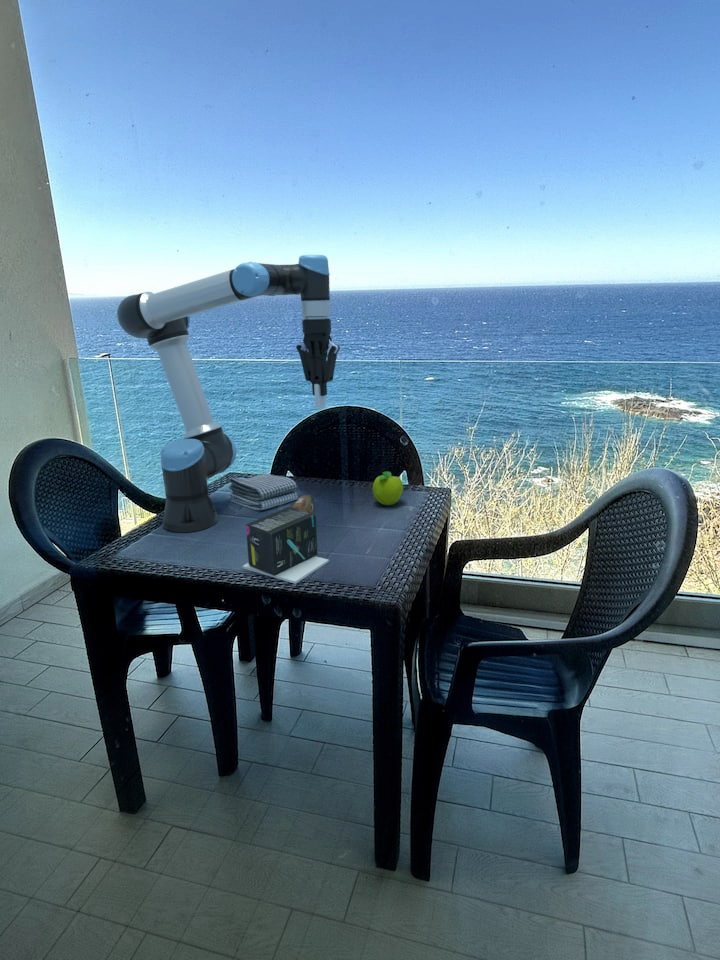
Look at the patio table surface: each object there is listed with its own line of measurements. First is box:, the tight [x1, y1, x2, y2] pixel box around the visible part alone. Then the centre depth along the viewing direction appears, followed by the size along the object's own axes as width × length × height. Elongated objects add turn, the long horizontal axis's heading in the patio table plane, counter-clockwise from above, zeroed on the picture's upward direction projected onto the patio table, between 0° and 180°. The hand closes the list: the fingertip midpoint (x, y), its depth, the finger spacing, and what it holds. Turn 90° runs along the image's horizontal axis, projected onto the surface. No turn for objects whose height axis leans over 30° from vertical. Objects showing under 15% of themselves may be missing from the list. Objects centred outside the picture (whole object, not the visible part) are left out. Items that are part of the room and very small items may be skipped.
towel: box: [227, 473, 299, 512], centre depth 185 cm, size 15×18×8 cm
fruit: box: [372, 471, 404, 506], centre depth 179 cm, size 9×9×10 cm
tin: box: [291, 494, 316, 516], centre depth 162 cm, size 15×3×8 cm, turn 168°
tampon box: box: [245, 506, 318, 576], centre depth 140 cm, size 11×9×15 cm
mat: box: [242, 555, 330, 585], centre depth 141 cm, size 16×13×1 cm
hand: (320, 407), depth 160 cm, fingers closed
